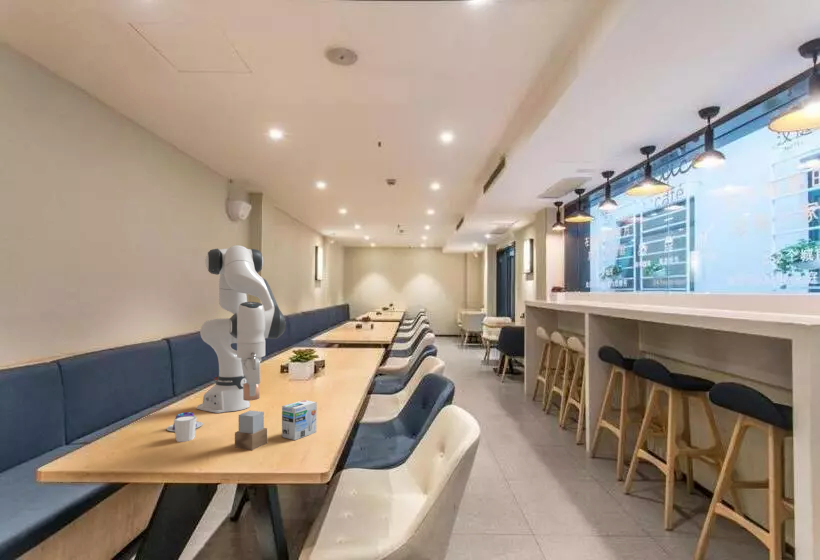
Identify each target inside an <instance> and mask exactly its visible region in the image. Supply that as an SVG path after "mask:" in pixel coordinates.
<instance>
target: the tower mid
mask: <svg viewBox="0 0 820 560" xmlns="http://www.w3.org/2000/svg"><path fill="white" fill-rule="evenodd" d="M264 419H265V412H264V411H260V410H257V411H256V410H248V411H245V412H243V413H240V414H238V431H239V432H241V433H251V434H253V433H256V432H258V431H260V430H262V429H264V428H265V425H264V423H265V420H264Z"/></svg>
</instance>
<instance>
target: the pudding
mask: <svg viewBox="0 0 820 560" xmlns="http://www.w3.org/2000/svg"><path fill="white" fill-rule="evenodd" d="M184 416H195V414H194V413H193V412H191V411H190V412H189V411H187V412H180V413H178V414H176V416H175V418H174V420H175V419H176V418H179V417H184ZM203 425H204V424H203V422H201V421H197V420H196V428H195V429H198V428H200V427H202V426H203ZM166 430H167V431H169V432H175V425H174V423H173V424H171V425H168V426H167V427H166Z"/></svg>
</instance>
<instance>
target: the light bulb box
mask: <svg viewBox="0 0 820 560" xmlns="http://www.w3.org/2000/svg"><path fill="white" fill-rule="evenodd" d="M317 410H318V409H317V401H311V400H307V399H302V400H299V401H295V402H292V403H288V404H285V405H282V406H281V437H282V438H285V439H289V440H293V441H296V440H299V439H301V438H304V437H307V436H310V435H313V434H316V433H317Z"/></svg>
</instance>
